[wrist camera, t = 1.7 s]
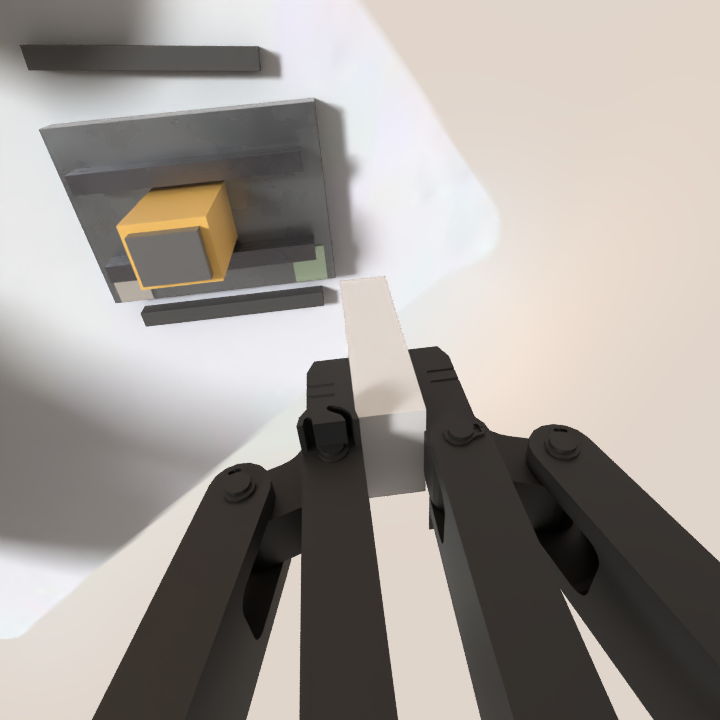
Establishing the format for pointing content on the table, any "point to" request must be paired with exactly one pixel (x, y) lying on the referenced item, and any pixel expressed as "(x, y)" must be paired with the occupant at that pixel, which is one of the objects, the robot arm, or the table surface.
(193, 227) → the toggle
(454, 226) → the table surface
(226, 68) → the bar
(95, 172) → the panel
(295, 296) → the dark grey long bar
